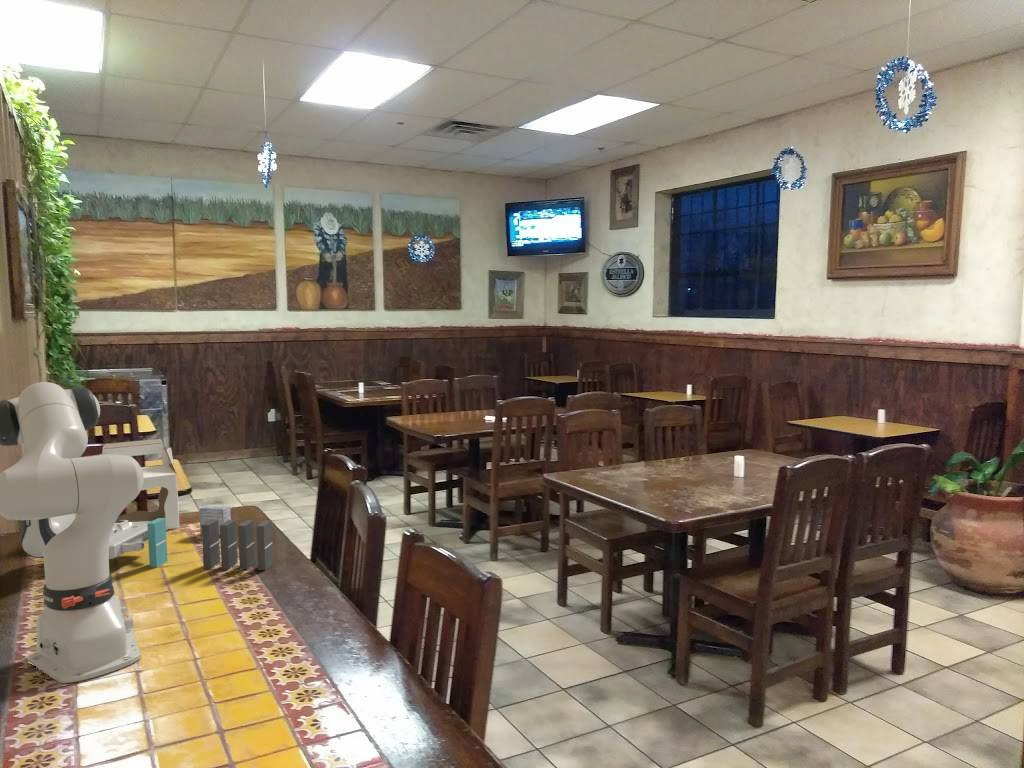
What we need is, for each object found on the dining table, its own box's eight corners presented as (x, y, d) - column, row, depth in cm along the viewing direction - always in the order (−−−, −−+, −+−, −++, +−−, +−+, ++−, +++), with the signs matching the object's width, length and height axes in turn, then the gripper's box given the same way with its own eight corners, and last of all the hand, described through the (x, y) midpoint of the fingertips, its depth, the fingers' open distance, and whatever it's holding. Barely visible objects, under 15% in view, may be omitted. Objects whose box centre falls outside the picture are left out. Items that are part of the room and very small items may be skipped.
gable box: (99, 541, 213) (93, 448, 210) (95, 530, 224) (89, 441, 221) (180, 528, 226) (175, 440, 223) (173, 518, 237) (168, 434, 234)
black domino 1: (220, 562, 194) (218, 519, 193) (210, 569, 189) (208, 525, 188) (213, 562, 195) (211, 519, 193) (203, 568, 190) (201, 524, 188)
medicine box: (232, 532, 221) (230, 504, 220) (224, 536, 217) (223, 508, 216) (207, 531, 222) (206, 504, 221) (200, 536, 217) (198, 508, 217)
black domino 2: (237, 562, 194) (235, 519, 193) (229, 569, 189) (226, 525, 188) (230, 562, 194) (228, 519, 193) (221, 569, 189) (219, 525, 188)
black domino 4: (273, 564, 193) (271, 520, 192) (265, 570, 188) (263, 526, 187) (266, 563, 193) (264, 520, 192) (258, 570, 188) (256, 526, 187)
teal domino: (167, 561, 196) (165, 518, 195) (156, 567, 191) (154, 523, 190) (160, 560, 196) (158, 518, 195) (149, 567, 191) (147, 523, 190)
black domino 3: (255, 563, 194) (253, 520, 192) (247, 570, 189) (245, 525, 187) (248, 563, 194) (246, 520, 193) (239, 569, 189) (237, 525, 188)
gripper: (77, 540, 183) (128, 541, 182) (126, 518, 204) (173, 518, 202) (78, 564, 184) (129, 565, 183) (128, 539, 204) (174, 540, 203)
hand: (152, 541), depth 193 cm, fingers open, 8 cm apart
